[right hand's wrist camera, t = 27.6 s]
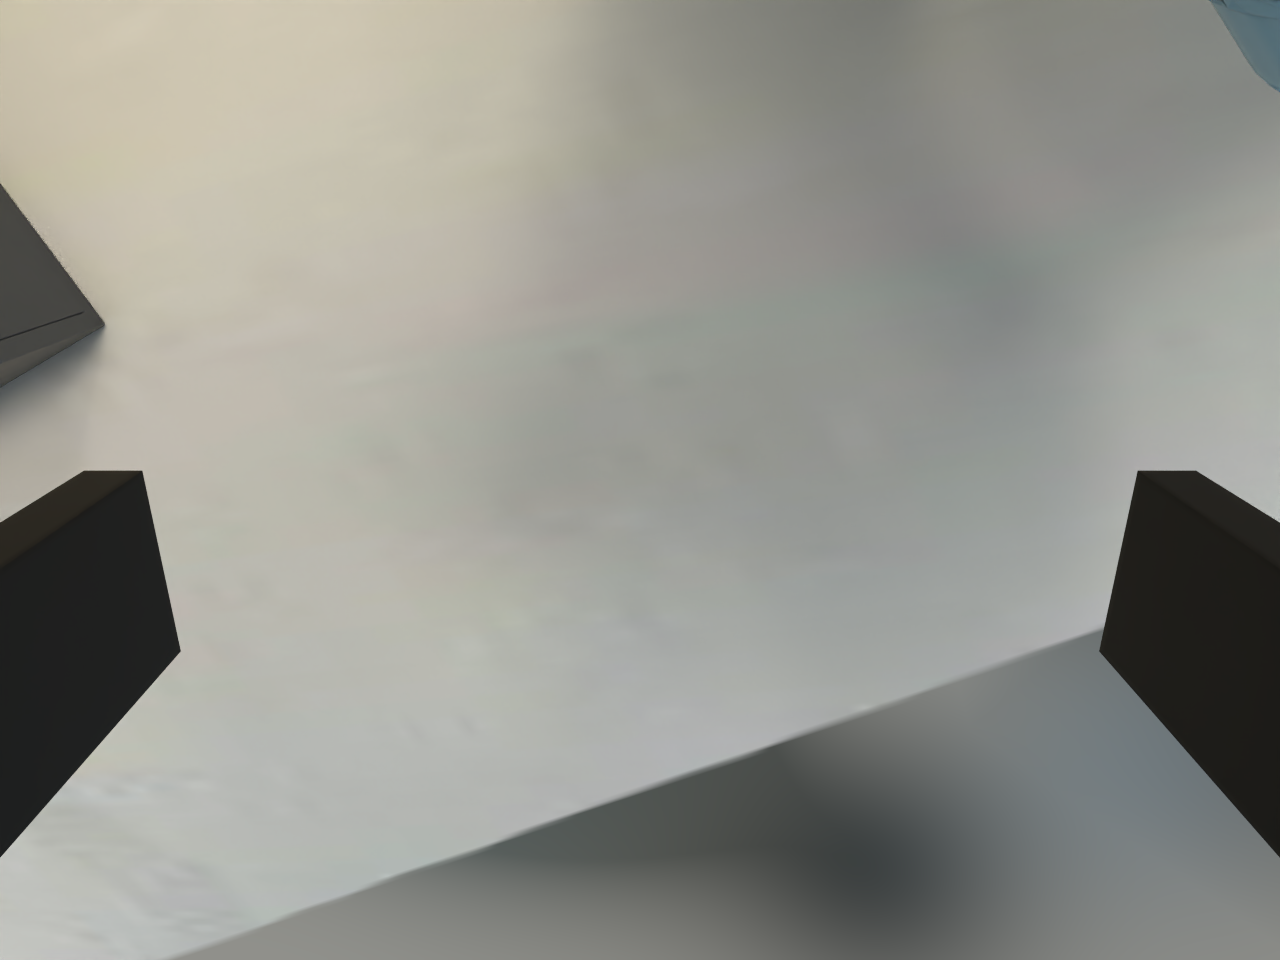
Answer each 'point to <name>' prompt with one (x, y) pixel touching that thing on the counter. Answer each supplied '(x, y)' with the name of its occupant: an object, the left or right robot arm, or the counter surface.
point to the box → (35, 298)
